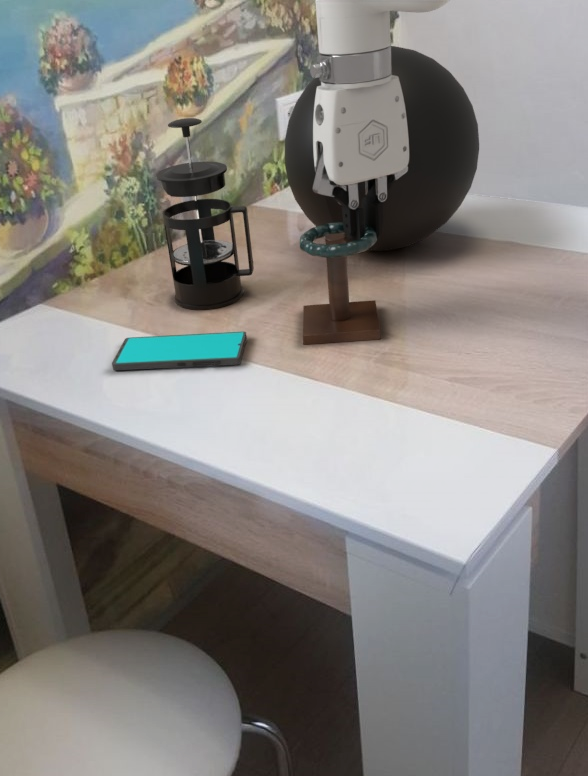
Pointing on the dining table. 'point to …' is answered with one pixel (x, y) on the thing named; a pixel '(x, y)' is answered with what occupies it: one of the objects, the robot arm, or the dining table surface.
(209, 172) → the french press
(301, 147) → the ball
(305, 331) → the brown peg stand
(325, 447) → the dining table surface
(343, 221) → the robot arm
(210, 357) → the smartphone
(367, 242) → the ring
